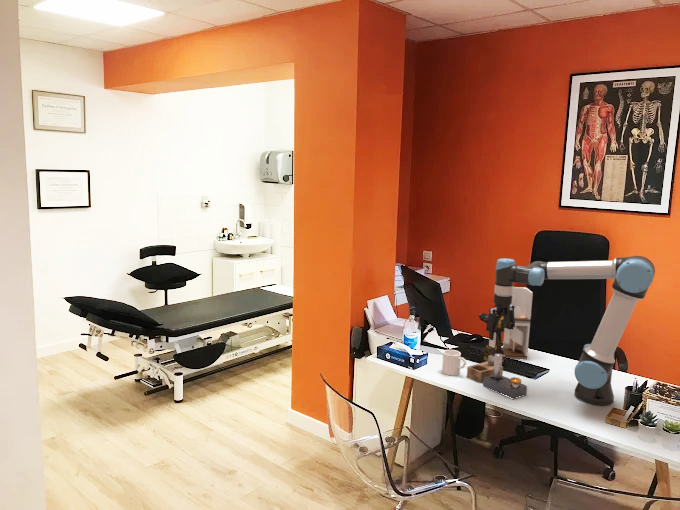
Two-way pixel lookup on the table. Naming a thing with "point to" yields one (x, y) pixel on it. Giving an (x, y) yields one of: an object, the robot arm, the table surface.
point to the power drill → (498, 342)
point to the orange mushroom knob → (515, 382)
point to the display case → (519, 324)
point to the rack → (482, 370)
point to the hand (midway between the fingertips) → (499, 344)
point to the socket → (504, 386)
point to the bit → (497, 366)
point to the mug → (452, 362)
